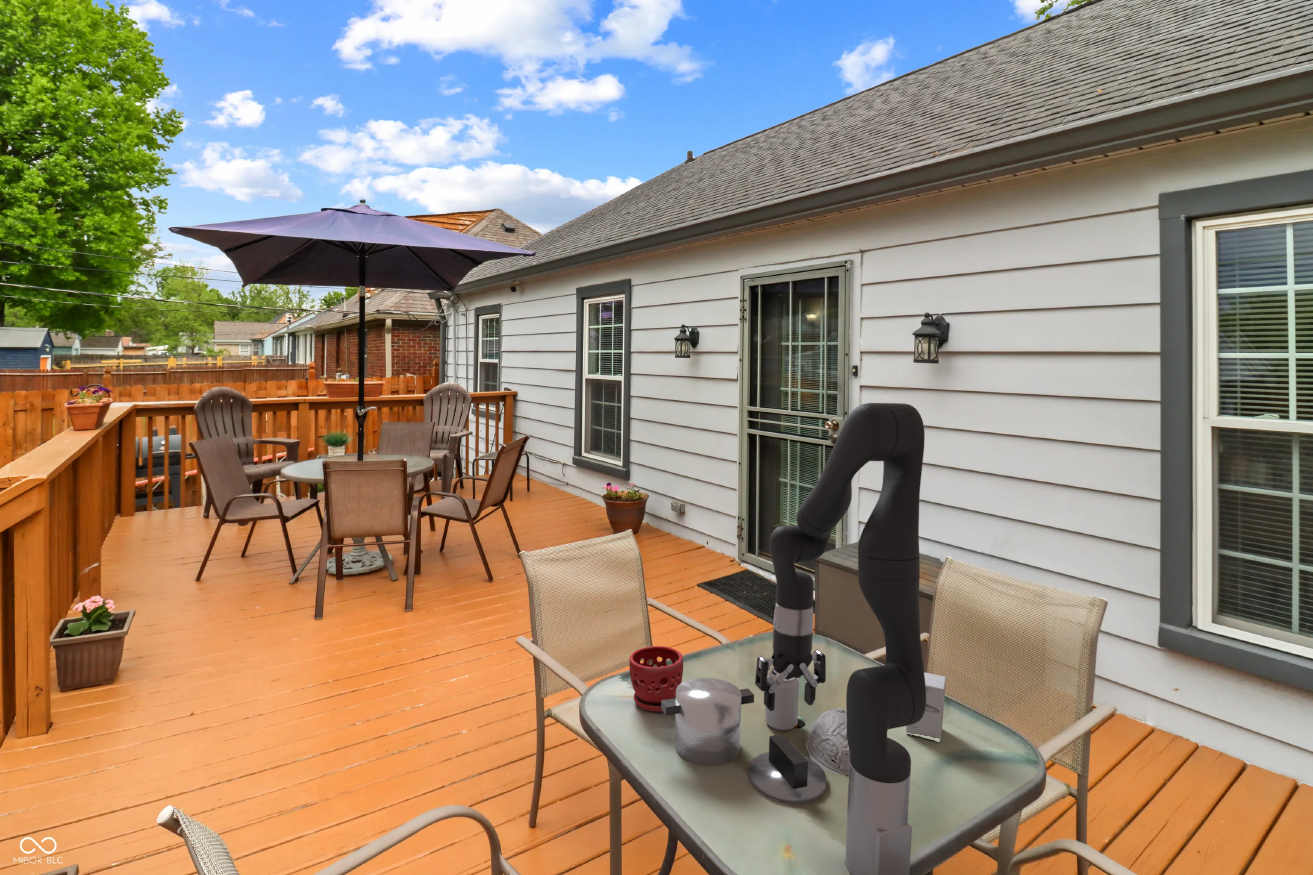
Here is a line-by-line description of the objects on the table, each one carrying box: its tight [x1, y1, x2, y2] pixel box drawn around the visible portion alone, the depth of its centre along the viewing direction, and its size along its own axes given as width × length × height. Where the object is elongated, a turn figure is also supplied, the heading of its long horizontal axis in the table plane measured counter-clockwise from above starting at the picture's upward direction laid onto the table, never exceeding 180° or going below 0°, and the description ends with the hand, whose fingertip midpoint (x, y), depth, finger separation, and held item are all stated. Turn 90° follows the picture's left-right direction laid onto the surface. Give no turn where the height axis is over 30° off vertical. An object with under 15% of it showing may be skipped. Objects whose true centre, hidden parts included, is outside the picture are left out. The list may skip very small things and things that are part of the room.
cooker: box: [661, 677, 755, 766], centre depth 137 cm, size 14×20×12 cm
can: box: [764, 672, 800, 731], centre depth 147 cm, size 8×8×12 cm
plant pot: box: [628, 645, 684, 713], centre depth 156 cm, size 13×13×12 cm
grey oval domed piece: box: [805, 707, 850, 776], centre depth 140 cm, size 16×25×7 cm, turn 166°
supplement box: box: [905, 671, 947, 740], centre depth 145 cm, size 7×7×13 cm
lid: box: [748, 733, 827, 805], centre depth 127 cm, size 15×15×7 cm
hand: (789, 705), depth 126 cm, fingers open, 8 cm apart
